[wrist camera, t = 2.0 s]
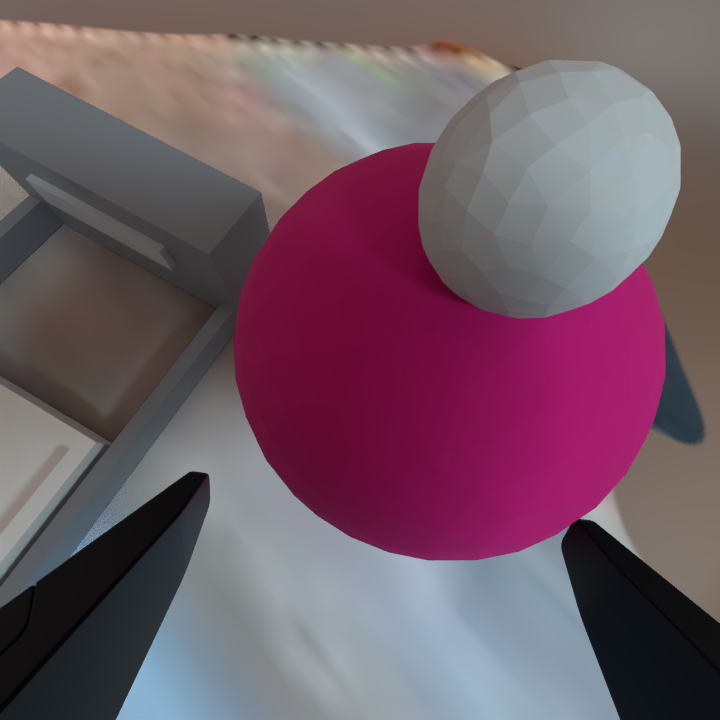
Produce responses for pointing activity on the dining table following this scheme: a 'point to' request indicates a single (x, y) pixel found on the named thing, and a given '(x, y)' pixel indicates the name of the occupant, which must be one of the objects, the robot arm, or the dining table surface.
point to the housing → (132, 241)
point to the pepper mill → (469, 319)
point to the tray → (37, 468)
